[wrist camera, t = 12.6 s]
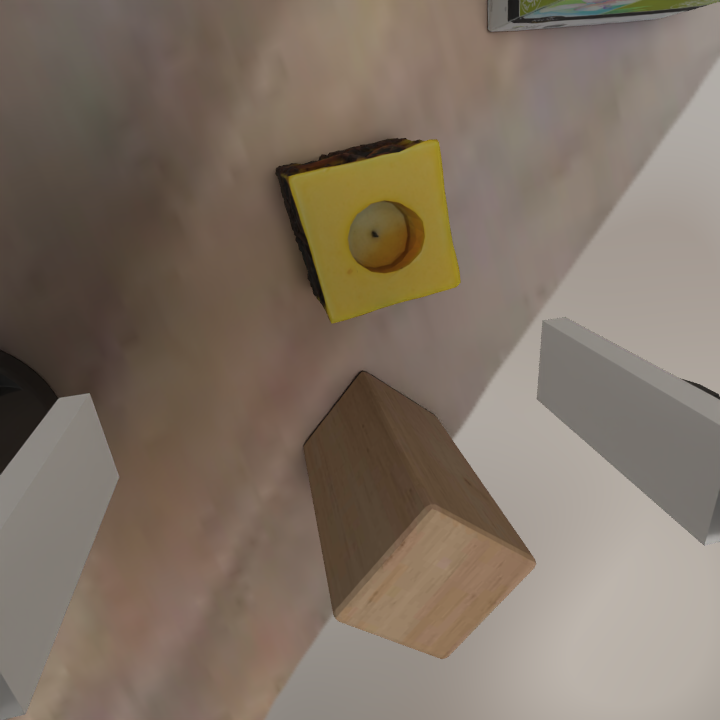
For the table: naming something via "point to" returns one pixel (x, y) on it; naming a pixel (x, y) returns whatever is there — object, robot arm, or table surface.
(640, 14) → the tea box
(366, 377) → the wooden block
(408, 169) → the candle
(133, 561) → the table surface
